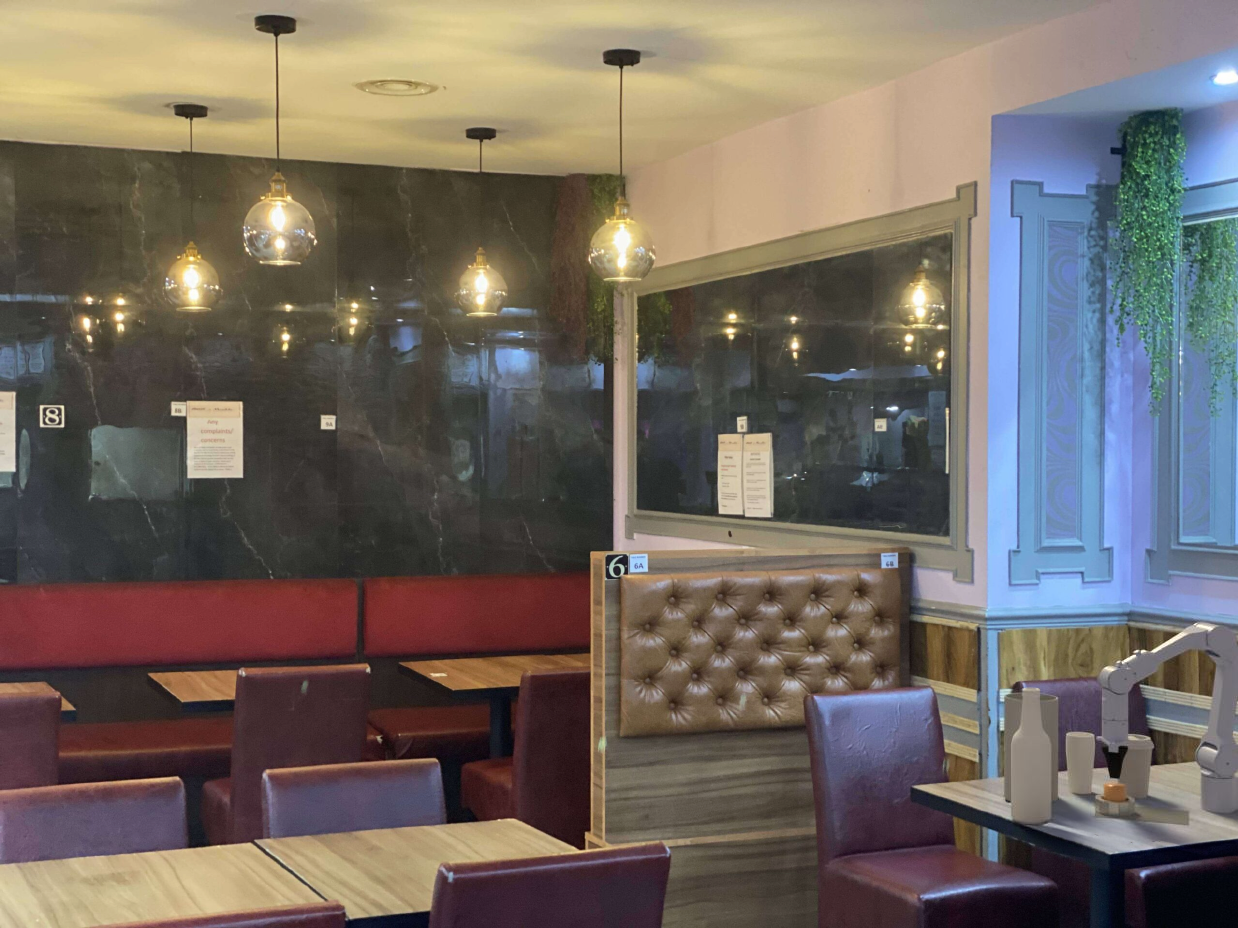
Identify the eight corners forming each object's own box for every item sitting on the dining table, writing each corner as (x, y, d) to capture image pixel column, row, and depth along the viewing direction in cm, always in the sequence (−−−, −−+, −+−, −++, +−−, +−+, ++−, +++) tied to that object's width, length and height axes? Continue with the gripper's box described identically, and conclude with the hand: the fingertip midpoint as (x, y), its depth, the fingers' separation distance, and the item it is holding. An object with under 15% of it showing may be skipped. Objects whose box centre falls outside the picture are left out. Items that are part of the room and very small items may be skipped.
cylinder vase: (1066, 799, 347) (1066, 696, 347) (1045, 809, 337) (1045, 702, 337) (1017, 791, 355) (1017, 690, 355) (995, 801, 345) (995, 697, 345)
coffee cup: (1154, 804, 342) (1154, 741, 341) (1112, 801, 345) (1112, 739, 345) (1153, 796, 351) (1153, 734, 351) (1112, 793, 354) (1112, 732, 354)
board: (1093, 820, 326) (1093, 816, 326) (1097, 807, 339) (1097, 802, 339) (1188, 829, 319) (1188, 824, 319) (1188, 814, 332) (1188, 810, 332)
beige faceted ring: (1109, 804, 337) (1109, 792, 337) (1142, 812, 330) (1142, 799, 330) (1087, 810, 332) (1087, 797, 332) (1120, 817, 325) (1120, 804, 325)
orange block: (1113, 807, 334) (1112, 781, 335) (1130, 811, 330) (1129, 785, 330) (1099, 810, 332) (1098, 784, 332) (1116, 814, 328) (1116, 787, 328)
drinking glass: (1096, 799, 347) (1096, 737, 347) (1067, 797, 349) (1067, 736, 349) (1092, 792, 354) (1093, 732, 354) (1064, 791, 355) (1064, 730, 355)
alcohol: (1034, 814, 333) (1034, 684, 332) (1059, 822, 324) (1059, 690, 324) (1003, 817, 329) (1003, 686, 329) (1027, 826, 321) (1027, 692, 321)
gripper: (1098, 712, 339) (1098, 770, 339) (1094, 722, 326) (1094, 782, 326) (1130, 714, 337) (1130, 772, 337) (1127, 725, 323) (1127, 785, 323)
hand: (1114, 777), depth 331 cm, fingers closed
